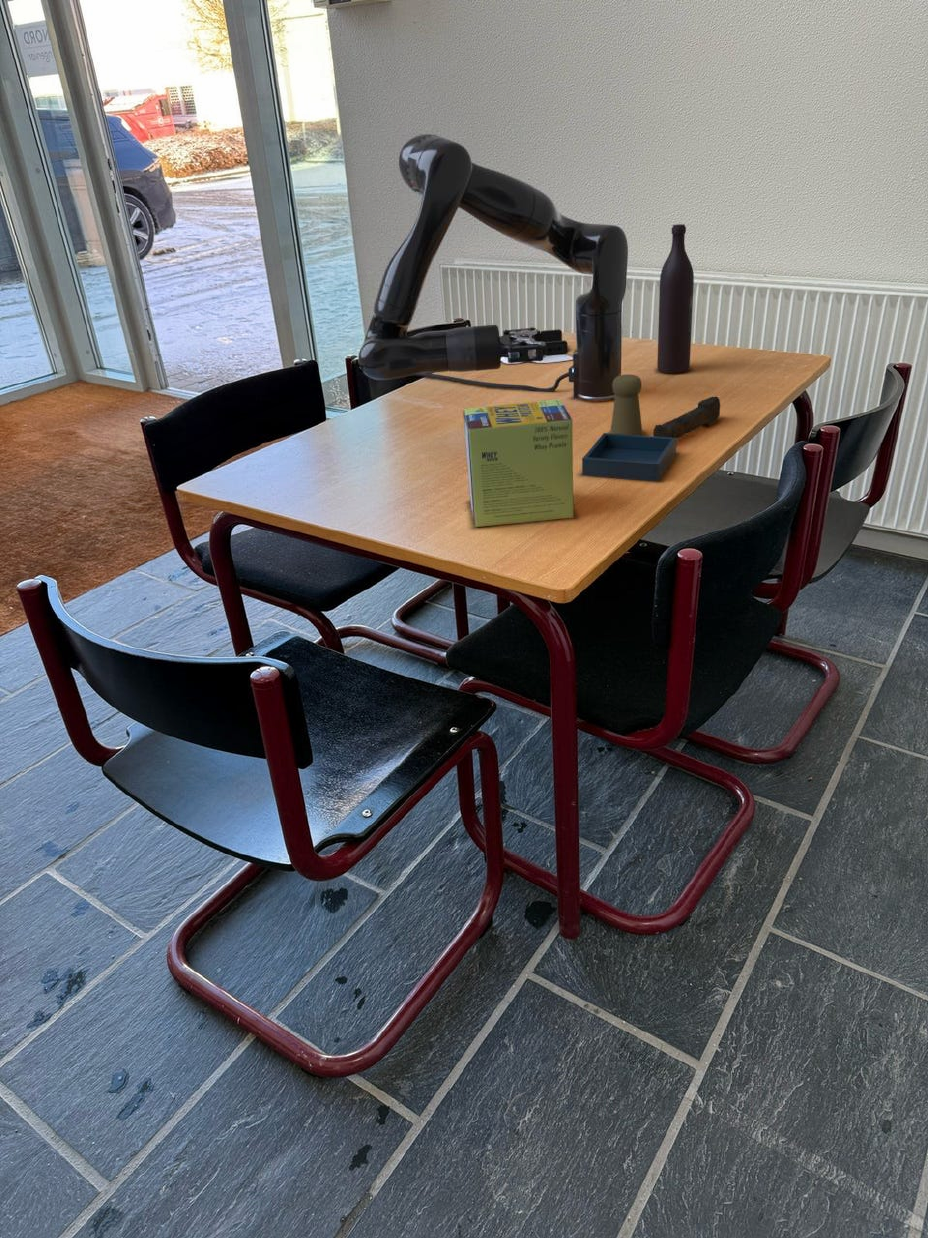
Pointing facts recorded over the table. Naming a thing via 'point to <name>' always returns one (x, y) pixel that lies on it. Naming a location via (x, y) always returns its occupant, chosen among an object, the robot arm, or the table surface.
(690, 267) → the wine bottle
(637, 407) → the cork
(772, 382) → the table surface
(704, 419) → the rusty railroad spike
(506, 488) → the protein box
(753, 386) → the table surface
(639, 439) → the caddy
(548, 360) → the cloth
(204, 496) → the table surface
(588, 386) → the robot arm
